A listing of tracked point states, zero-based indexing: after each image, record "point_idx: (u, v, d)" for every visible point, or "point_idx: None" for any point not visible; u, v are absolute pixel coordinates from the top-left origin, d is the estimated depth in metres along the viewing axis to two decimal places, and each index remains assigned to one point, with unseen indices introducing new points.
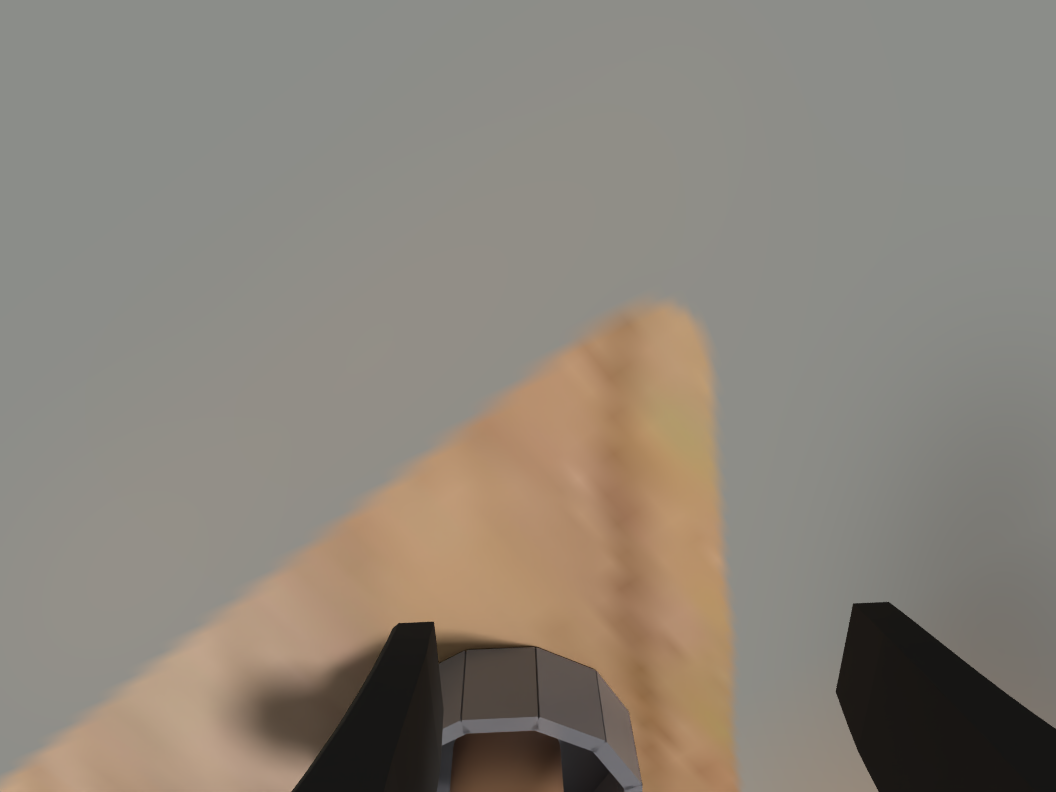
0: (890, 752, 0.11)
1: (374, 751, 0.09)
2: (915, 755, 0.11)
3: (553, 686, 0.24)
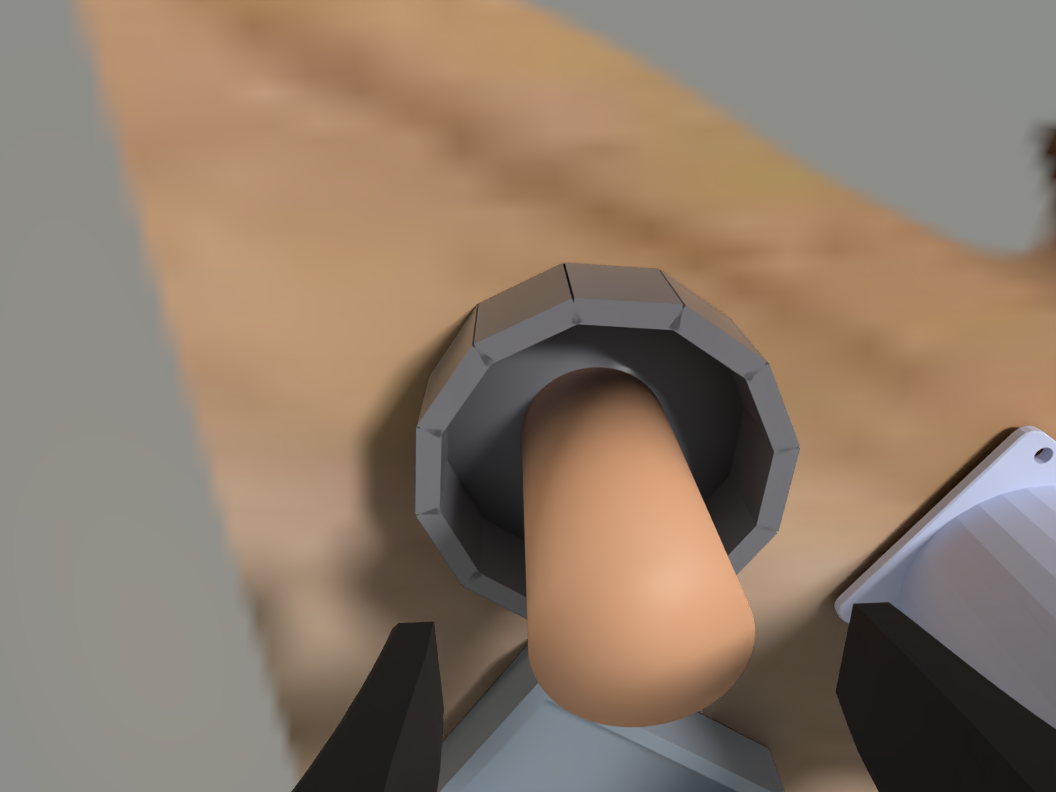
0: (890, 752, 0.11)
1: (374, 751, 0.09)
2: (915, 755, 0.11)
3: (497, 312, 0.18)
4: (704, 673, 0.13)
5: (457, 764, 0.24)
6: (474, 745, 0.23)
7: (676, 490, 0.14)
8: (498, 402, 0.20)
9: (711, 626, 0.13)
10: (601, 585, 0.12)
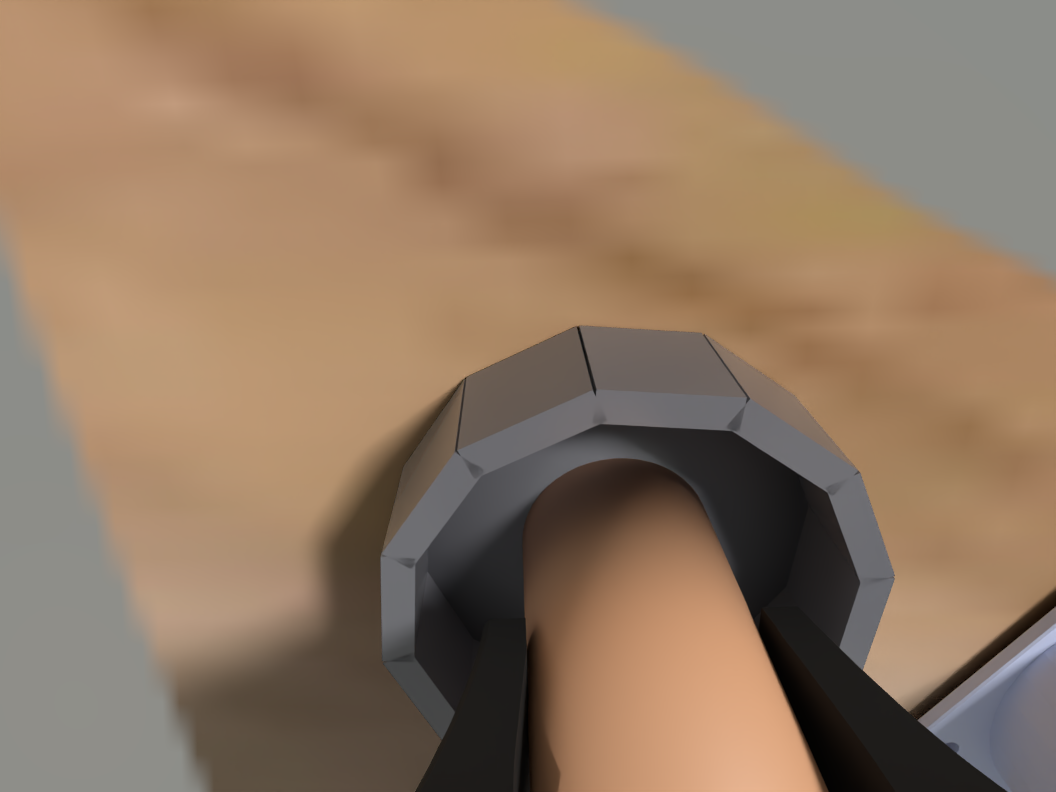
0: None
1: (495, 746, 0.09)
2: None
3: (490, 397, 0.13)
4: None
5: None
6: None
7: (748, 685, 0.10)
8: (492, 501, 0.15)
9: None
10: None
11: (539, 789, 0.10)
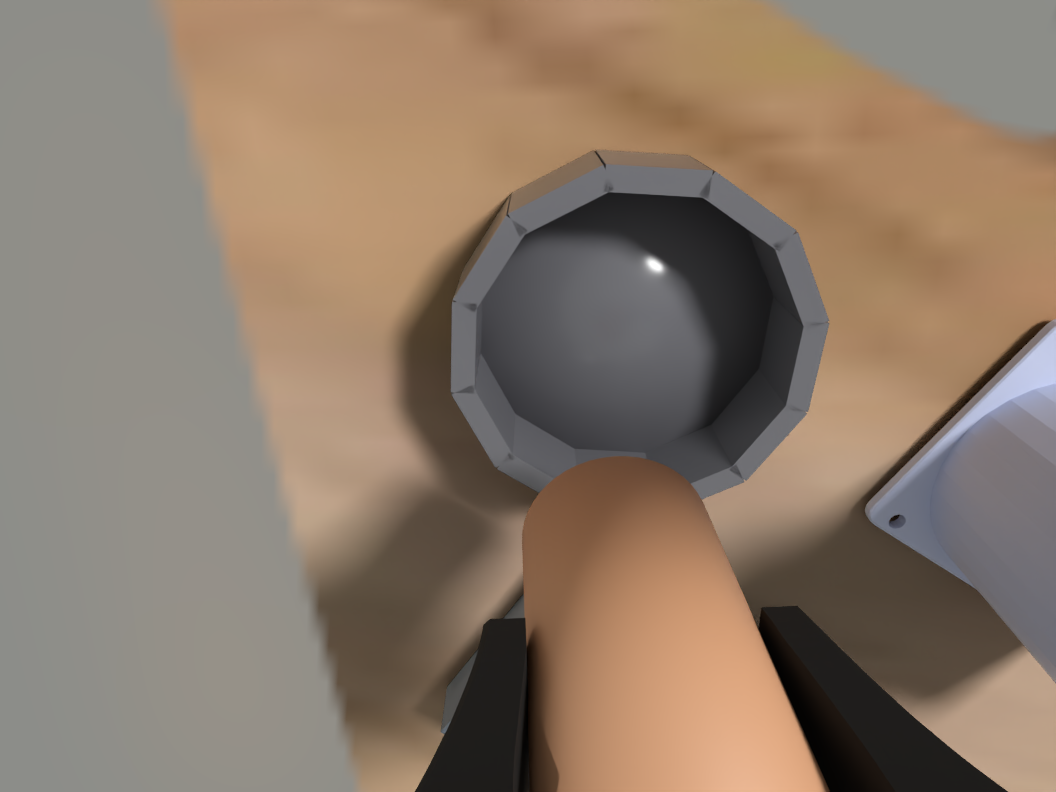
0: None
1: (494, 746, 0.09)
2: None
3: (530, 192, 0.18)
4: None
5: None
6: None
7: (748, 683, 0.10)
8: (530, 292, 0.20)
9: None
10: None
11: (539, 786, 0.10)
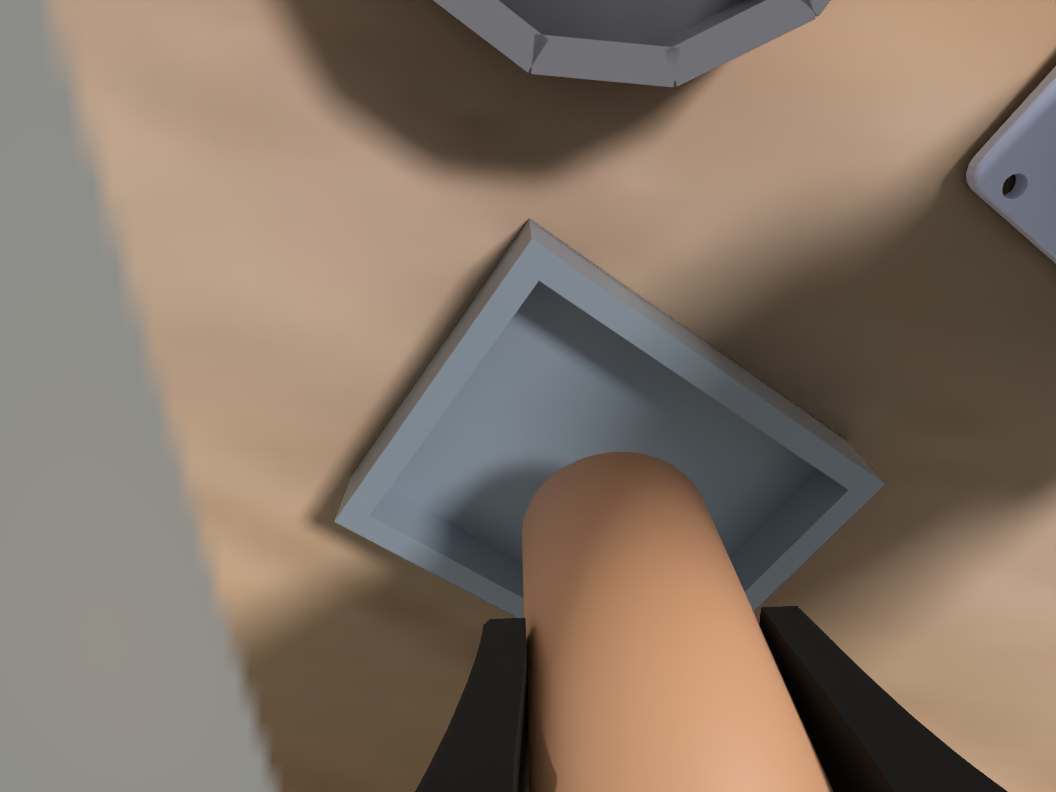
0: None
1: (494, 746, 0.09)
2: None
3: None
4: None
5: (406, 414, 0.16)
6: (431, 378, 0.16)
7: (748, 676, 0.10)
8: None
9: None
10: None
11: (538, 780, 0.10)
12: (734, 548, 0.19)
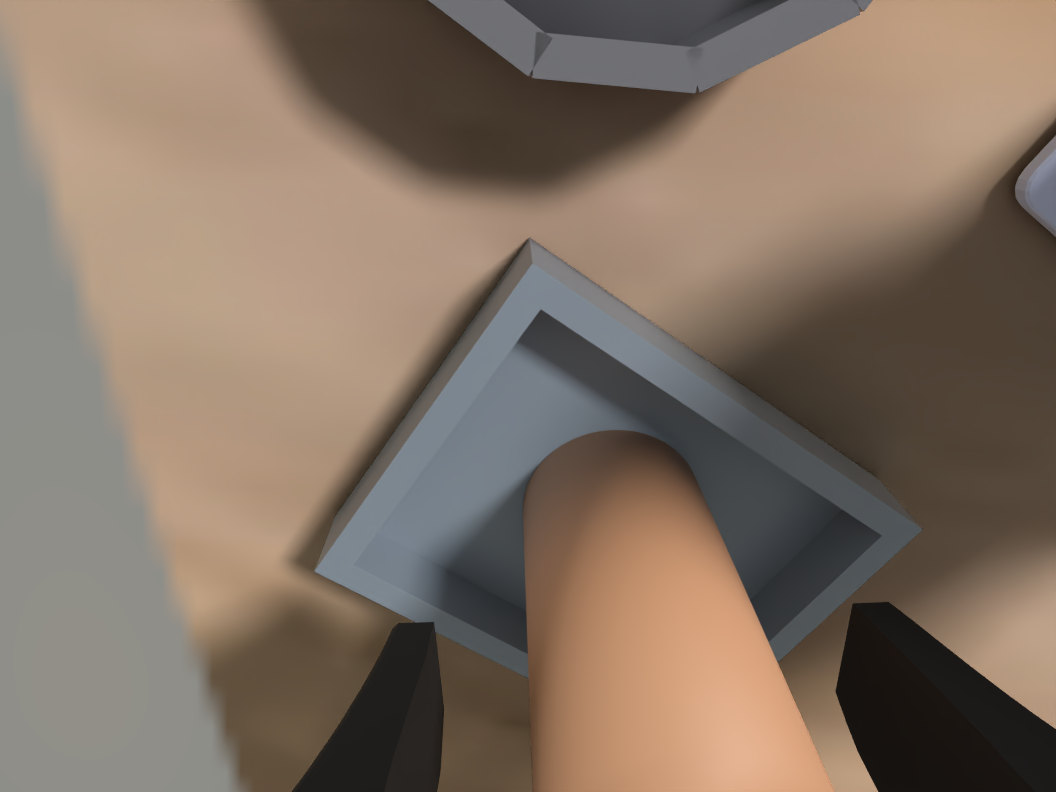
0: (890, 752, 0.11)
1: (374, 751, 0.09)
2: (915, 755, 0.11)
3: None
4: None
5: (393, 455, 0.15)
6: (420, 416, 0.14)
7: (731, 627, 0.11)
8: None
9: None
10: None
11: (539, 722, 0.10)
12: (753, 593, 0.18)
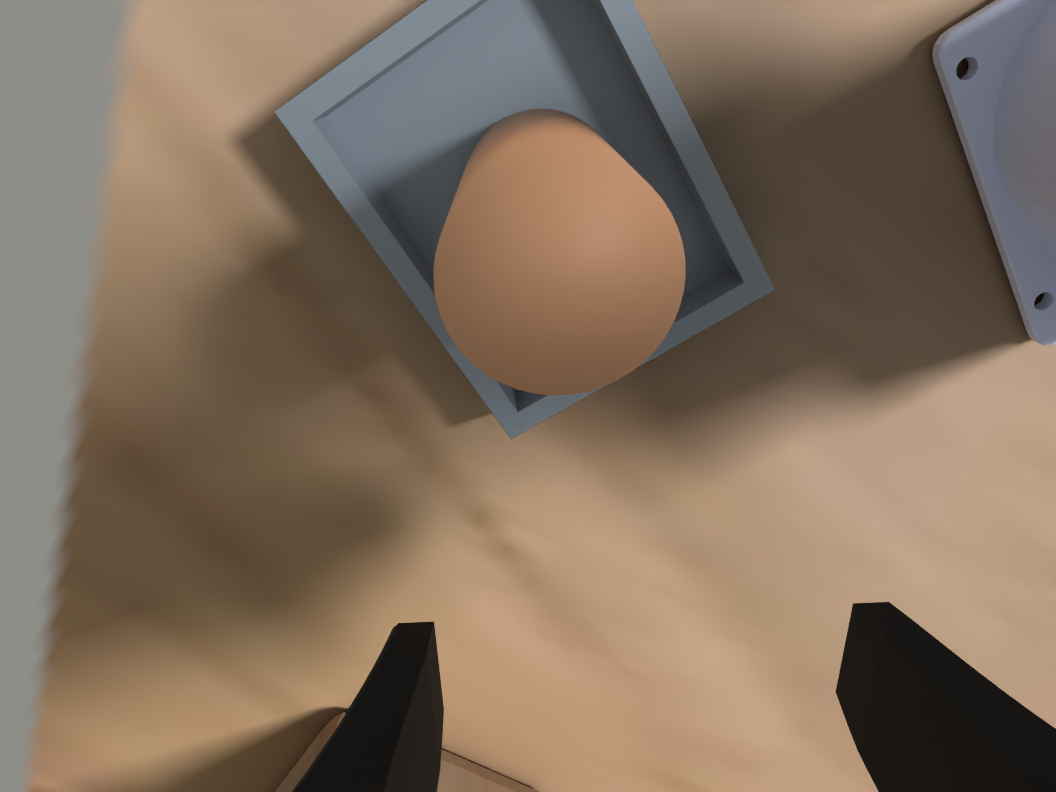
0: (890, 752, 0.11)
1: (374, 751, 0.09)
2: (915, 755, 0.11)
3: None
4: (607, 345, 0.12)
5: None
6: (428, 2, 0.16)
7: None
8: None
9: (638, 287, 0.12)
10: (551, 182, 0.11)
11: (469, 177, 0.12)
12: None
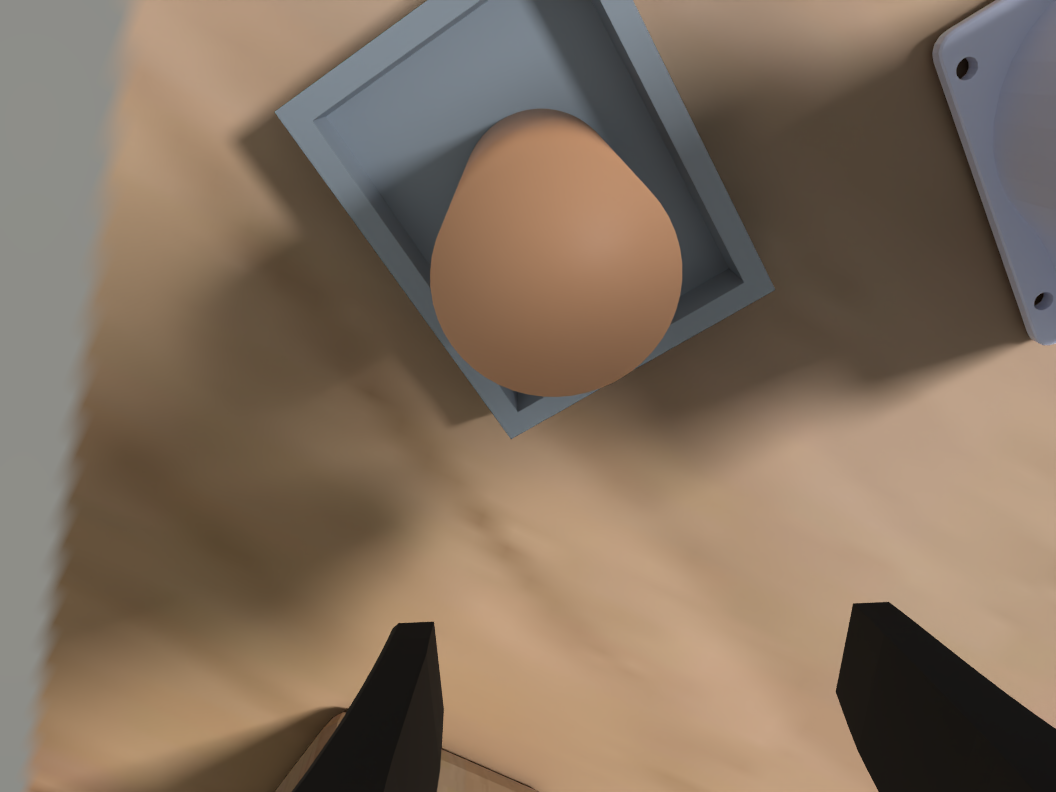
0: (890, 752, 0.11)
1: (374, 751, 0.09)
2: (915, 755, 0.11)
3: None
4: (603, 347, 0.12)
5: None
6: (428, 2, 0.16)
7: None
8: None
9: (635, 290, 0.12)
10: (548, 183, 0.11)
11: (467, 177, 0.12)
12: None
